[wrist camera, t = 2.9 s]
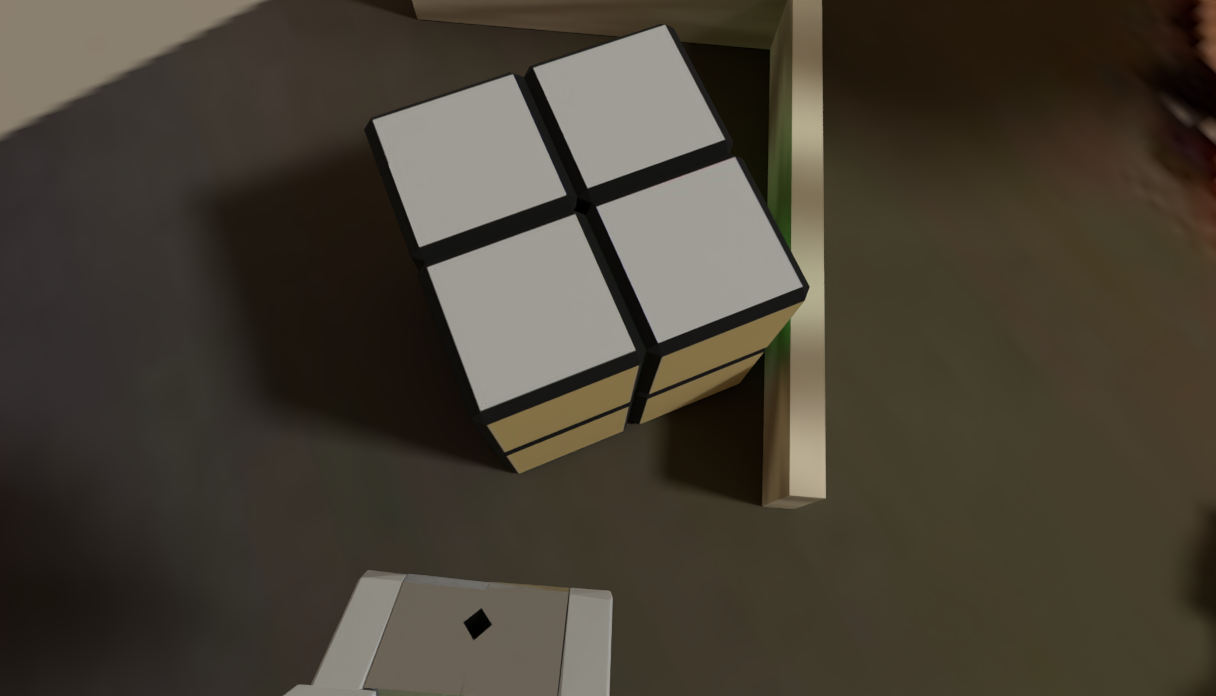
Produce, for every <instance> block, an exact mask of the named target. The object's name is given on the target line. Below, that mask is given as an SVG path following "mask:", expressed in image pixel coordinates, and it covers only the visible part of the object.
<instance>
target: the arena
mask: <svg viewBox="0 0 1216 696" xmlns="http://www.w3.org/2000/svg"><path fill="white" fill-rule="evenodd" d="M412 2H413V6H414V9H415V12H416V16H417V19H421V20H432V21H444V22H455V23H467V24H479V25H490V26H502V27H514V28H525V29H537V30H549V31H560V32H572V33H584V34H595V35H607V36H619V37H621V36H624V35H627V34H630V33H633V32H636V31H640V30H643V29H646V28H649V27H652V26H655V25H658V24H666V25H668V26H670V27H672V28H674V30H675V32H676V33H677V35H678V37H679V39H680V41H681V42H689V43H700V44H712V45H724V46H735V47H747V48H758V49H770V88H769V144H768V201H767V206H768V208H769V210H770V212H771V214H772V216H773V218H774V219H775V221H776V223H777V225H778V227H779V229H780V231H781V233H782V235H783V237H784V239H785V240H786V242H787V244H788V246H789V248H790V250H791V252H792V254H793V256H794V258H795V259H796V261H797V263H798V265H799V267H800V269H801V271H802V273H803V275H804V277H805V279H806V280H807V282H808V284H809V286H810V288H809V290H808V293H807V296H806V299H805V301H804V302H803V304H802V305H801V306H800V307H799V308H798V310H797V311H796V312H795V313H794V315H793V316H792V317H791V318H790V320H789V321H788V322H787V323H786V325H785V326H784V327H783V328H782V330H781V331H780V332H779V333H778V335H777V336H776V337H775V338H774V339H773V341H772V342H771V343H770V344H769V346H768V347H766V348H765V371H764V427H763V484H762V506H764V507H775V508H787V509H795V508H798V507H801V506H804V505H807V504H810V503H813V502H816V501H819V500H822V499H825V498H826V474H825V342H824V210H823V78H822V0H412Z"/></svg>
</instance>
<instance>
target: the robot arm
mask: <svg viewBox="0 0 1216 696" xmlns="http://www.w3.org/2000/svg"><path fill="white" fill-rule="evenodd" d="M612 601H613V597H612V594H611V592H610V591H605V590H591V589H578V588H571V589H570V594H569V588H565V587H552V586H538V585H525V584H511V583H498V582H490V583H488V582H479V581H470V580H461V579H452V578H443V577H434V576H425V575H415V574H409V575H408V574H399V573H390V572H381V571H372V570H367V571H366V572H365V574H364V575H363V576H362V577H361V578H360V579H359V580H358V583H357V585H356V587H355V589H354V591H353V594H352V596H351V598H350V600H349V602H348V605H347V607H346V609H345V611H344V613H343V616H342V618H341V620H340V622H339V624H338V627H337V629H336V631H335V633H334V635H333V638H332V640H331V642H330V644H329V646H328V649H327V651H326V653H325V655H324V657H323V660H322V662H321V664H320V666H319V668H318V671H317V673H316V675H315V677H314V679H313V682H312V684H311V685H300V684H298V685H296V686H295V687H294V688H292V689H291V690H290V691H288V692H287V693H286V694H284V695H283V696H609V687H610V658H611V630H612ZM568 602H569V605H568Z"/></svg>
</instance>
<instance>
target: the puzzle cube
mask: <svg viewBox="0 0 1216 696" xmlns="http://www.w3.org/2000/svg"><path fill="white" fill-rule="evenodd" d="M364 130H365V133H366V136H367V139H368V141H369V144H370V147H371V149H372V152H373V155H374V158H375V160H376V163H377V166H378V168H379V171H380V174H381V177H382V179H383V182H384V185H385V187H386V190H387V193H388V196H389V198H390V201H391V204H392V207H393V209H394V212H395V215H396V217H397V220H398V223H399V226H400V228H401V231H402V234H403V236H404V239H405V242H406V245H407V247H408V250H409V253H410V255H411V257H412V259H413V261H414V263H415V265H416V267H417V268H418V270H419V274H418V277H419V280H420V283H421V285H422V288H423V291H424V294H425V296H426V299H427V302H428V304H429V307H430V310H431V313H432V315H433V318H434V321H435V323H436V326H437V329H438V332H439V334H440V337H441V340H442V343H443V345H444V348H445V351H446V353H447V356H448V359H449V362H450V364H451V367H452V370H453V372H454V375H455V378H456V381H457V383H458V386H459V389H460V391H461V394H462V397H463V400H464V402H465V405H466V408H467V411H468V413H469V416H470V419H471V420H472V422H473V423H474V424H475V426H476V427H477V428H478V430H479V431H480V433H481V434H482V435H483V437H484V438H485V439H486V441H487V442H488V443H489V445H490V446H491V447H492V448H493V451H494V452H495V453H496V455H497V456H498V457H499V459H500V460H501V461H502V462H503V464H504V465H505V466H506V468H507V469H508V470H510V471H513V472H515V473H518V474H520V473H522V472H525V471H527V470H530V469H532V468H534V467H537V466H539V465H542V464H544V463H547V462H549V461H552V460H554V459H556V458H559V457H561V456H564V455H566V454H569V453H571V452H573V451H576V450H578V449H581V448H583V447H586V446H588V445H590V444H593V443H595V442H598V441H600V440H603V439H605V438H608V437H610V436H612V435H615V434H617V433H620V432H622V431H624V429H625V426H626V424H627V421H628V420H629V421H632V422H634V423H637V424H642V423H644V422H647V421H649V420H652V419H654V418H657V417H659V416H661V415H664V414H666V413H669V412H671V411H674V410H676V409H678V408H681V407H683V406H686V405H688V404H691V403H693V402H696V401H698V400H700V399H703V398H705V397H708V396H710V395H713V394H715V393H717V392H720V391H722V390H725V389H727V388H730V387H732V386H735V385H737V384H739V383H740V382H741V381H742V380H743V378H744V377H745V376H746V374H747V373H748V372H749V371H750V369H751V368H752V367H753V365H754V364H755V363H756V362H757V360H758V359H759V358H760V356H761V355H762V354H763V353H764V351H765V348H766V347H768V346H769V344H770V343H771V342H772V341H773V339H774V338H775V337H776V336H777V335H778V333H779V332H780V331H781V330H782V328H783V327H784V326H785V325H786V323H787V322H788V321H789V320H790V318H791V317H792V316H793V315H794V313H795V312H796V311H797V310H798V308H799V307H800V306H801V305H802V304H803V302H804V301H805V299H806V296H807V293H808V290H809V288H810V286H809V284H808V282H807V280H806V279H805V277H804V275H803V273H802V271H801V269H800V267H799V265H798V263H797V261H796V259H795V258H794V256H793V254H792V252H791V250H790V248H789V246H788V244H787V242H786V240H785V239H784V237H783V235H782V233H781V231H780V229H779V227H778V225H777V223H776V221H775V219H774V218H773V216H772V214H771V212H770V210H769V208H768V206H767V204H766V202H765V200H764V198H763V197H762V195H761V193H760V191H759V189H758V187H757V185H756V183H755V181H754V179H753V178H752V176H751V174H750V172H749V170H748V168H747V166H746V164H745V162H744V160H743V159H741V158H739V157H736V156H733V155H731V154H729V153H730V150H731V147H732V144H733V140H732V138H731V136H730V134H729V133H728V131H727V129H726V127H725V125H724V123H723V121H722V119H721V117H720V115H719V114H718V112H717V110H716V108H715V106H714V104H713V102H712V100H711V98H710V96H709V94H708V93H707V91H706V89H705V87H704V85H703V83H702V81H701V79H700V77H699V75H698V73H697V72H696V70H695V68H694V66H693V64H692V62H691V60H690V58H689V56H688V54H687V53H686V51H685V49H684V47H683V45H682V43H681V41H680V39H679V37H678V35H677V33H676V32H675V30H674V28H672V27H670V26H668V25H666V24H658V25H655V26H652V27H649V28H646V29H643V30H640V31H636V32H633V33H630V34H627V35H624V36H621V37H618V38H615V39H612V40H609V41H606V42H603V43H600V44H597V45H594V46H590V47H587V48H584V49H581V50H578V51H575V52H572V53H569V54H566V55H563V56H560V57H557V58H554V59H551V60H548V61H545V62H541V63H538V64H535V65H532V66H530V67H529V69H528V71H527V73H526V75H525V77H522V76H519V75H516V74H514V73H511V72H509V73H506V74H503V75H500V76H497V77H494V78H491V79H488V80H485V81H482V82H479V83H476V84H472V85H469V86H466V87H463V88H460V89H457V90H454V91H451V92H448V93H445V94H442V95H439V96H436V97H433V98H430V99H427V100H423V101H420V102H417V103H414V104H411V105H408V106H405V107H402V108H399V109H396V110H393V111H390V112H387V113H384V114H381V115H377V116H374V117H371V119H370V121H369V122H368V124H367V126H366V127H365V129H364Z"/></svg>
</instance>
